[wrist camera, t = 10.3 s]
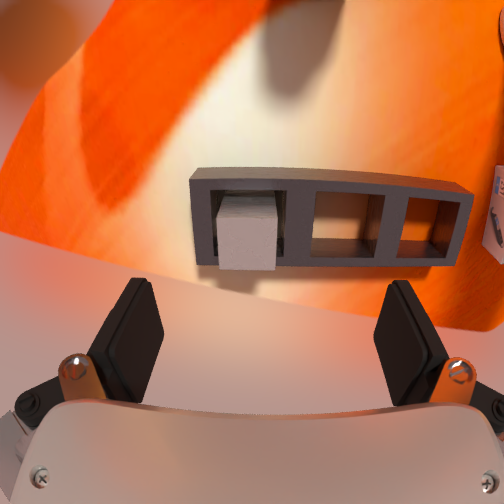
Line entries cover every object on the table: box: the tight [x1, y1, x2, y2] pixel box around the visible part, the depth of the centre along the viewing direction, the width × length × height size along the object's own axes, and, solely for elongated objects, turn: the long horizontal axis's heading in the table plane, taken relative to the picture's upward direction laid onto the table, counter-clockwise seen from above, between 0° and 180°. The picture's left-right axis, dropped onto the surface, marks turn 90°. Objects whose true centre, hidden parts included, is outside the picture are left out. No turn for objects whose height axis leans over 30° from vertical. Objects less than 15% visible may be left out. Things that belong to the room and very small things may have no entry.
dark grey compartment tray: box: [189, 167, 474, 267], centre depth 29 cm, size 28×8×4 cm, turn 90°
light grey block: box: [217, 190, 278, 271], centre depth 27 cm, size 4×4×8 cm
